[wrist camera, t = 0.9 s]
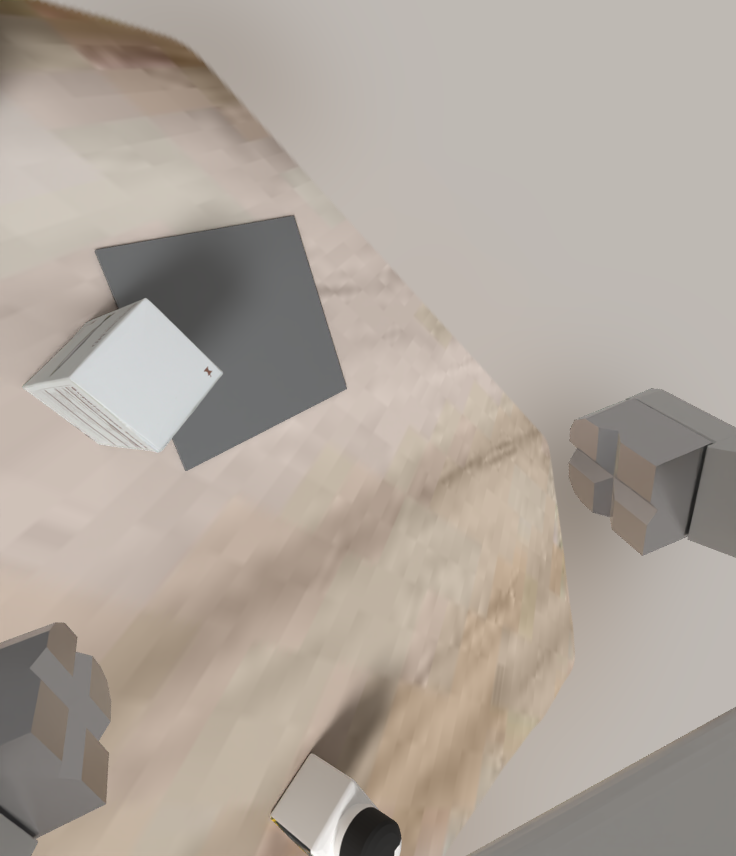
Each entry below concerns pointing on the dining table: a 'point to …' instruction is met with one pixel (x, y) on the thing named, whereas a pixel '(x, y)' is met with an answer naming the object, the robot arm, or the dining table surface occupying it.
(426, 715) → the dining table surface
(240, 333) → the mat
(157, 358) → the supplement box
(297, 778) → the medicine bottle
